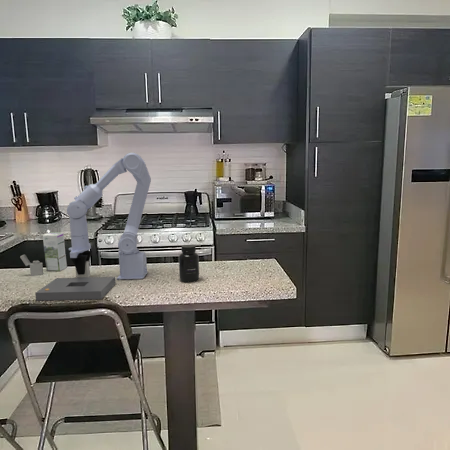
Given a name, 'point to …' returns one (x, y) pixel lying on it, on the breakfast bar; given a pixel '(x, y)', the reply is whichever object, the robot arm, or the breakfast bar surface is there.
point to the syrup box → (54, 251)
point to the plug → (87, 271)
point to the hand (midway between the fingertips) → (83, 273)
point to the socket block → (76, 288)
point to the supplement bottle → (189, 264)
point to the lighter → (33, 266)
